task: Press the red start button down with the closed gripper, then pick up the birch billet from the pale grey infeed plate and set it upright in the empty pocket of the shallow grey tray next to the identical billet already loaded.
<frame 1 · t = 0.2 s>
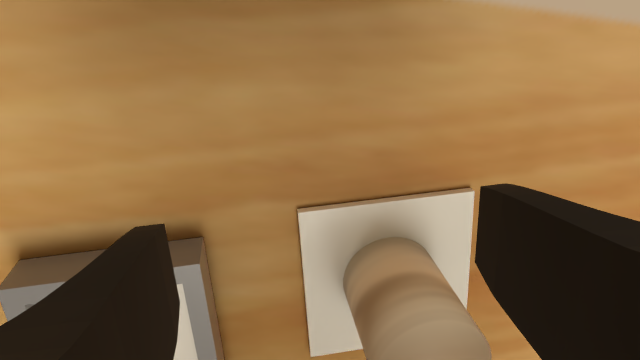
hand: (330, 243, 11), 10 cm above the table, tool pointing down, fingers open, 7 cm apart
billet 2: (388, 277, 24), resting on infeed plate
infeed plate: (386, 273, 24), on the table
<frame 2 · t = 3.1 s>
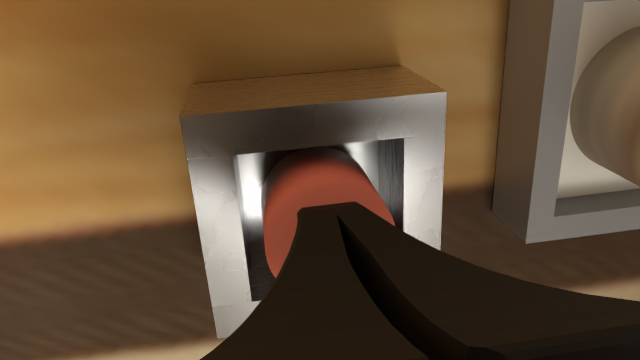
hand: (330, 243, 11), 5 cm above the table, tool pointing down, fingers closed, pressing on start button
button housing: (306, 171, 15), on the table
start button: (323, 220, 12), point 3 cm above the table, slide at -0.2 cm, touching gripper
billet 1: (638, 99, 15), point 1 cm above the table, touching shallow grey tray
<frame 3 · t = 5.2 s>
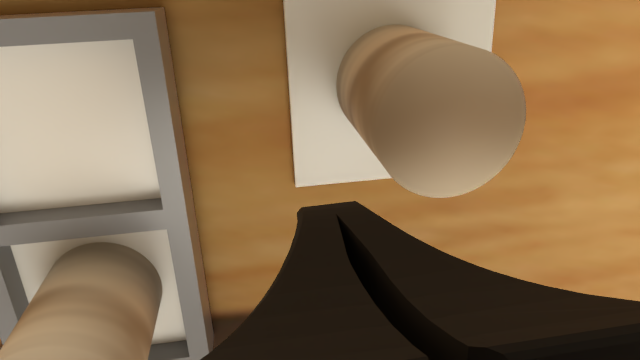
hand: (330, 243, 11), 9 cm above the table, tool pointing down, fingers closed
billet 2: (391, 83, 20), resting on infeed plate
shallow grey tray: (95, 202, 20), on the table
infeed plate: (389, 81, 20), on the table
billet 1: (105, 290, 20), point 1 cm above the table, touching shallow grey tray
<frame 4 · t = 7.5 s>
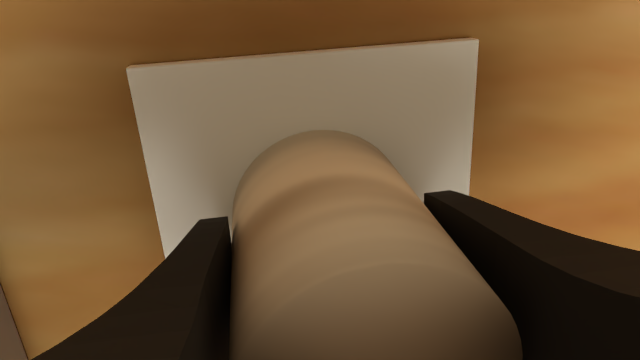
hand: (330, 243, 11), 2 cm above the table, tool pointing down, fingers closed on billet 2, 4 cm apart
billet 2: (319, 212, 13), resting on infeed plate, touching gripper
infeed plate: (317, 205, 13), on the table
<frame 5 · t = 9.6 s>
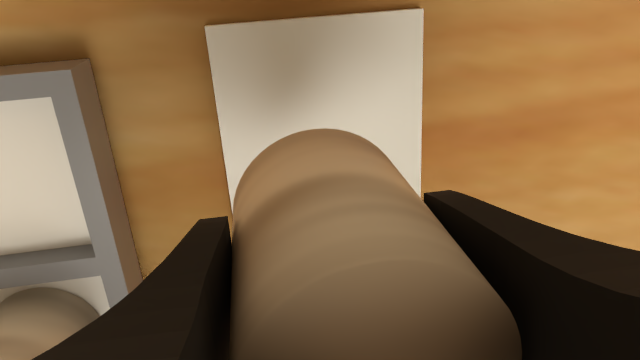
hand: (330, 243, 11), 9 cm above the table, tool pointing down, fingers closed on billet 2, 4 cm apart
billet 2: (319, 211, 13), point 8 cm above the table, touching gripper
shallow grey tray: (35, 247, 20), on the table
infeed plate: (322, 121, 20), on the table
billet 1: (48, 333, 21), point 1 cm above the table, touching shallow grey tray
when the fingers open (4 cm above the table, at t = 11.8 s): billet 2 drops 1 cm, resting on shallow grey tray.
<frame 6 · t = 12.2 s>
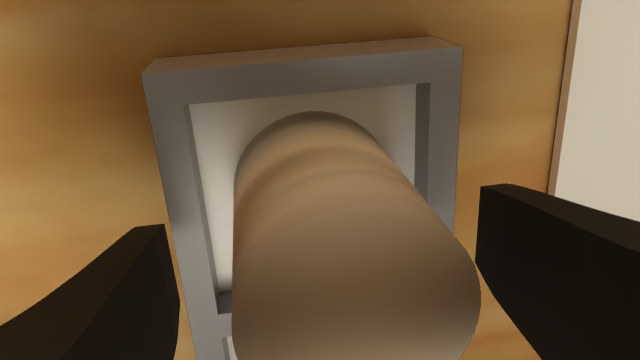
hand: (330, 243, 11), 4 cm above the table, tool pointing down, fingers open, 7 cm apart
billet 2: (312, 186, 14), point 1 cm above the table, touching shallow grey tray
shallow grey tray: (314, 270, 17), on the table
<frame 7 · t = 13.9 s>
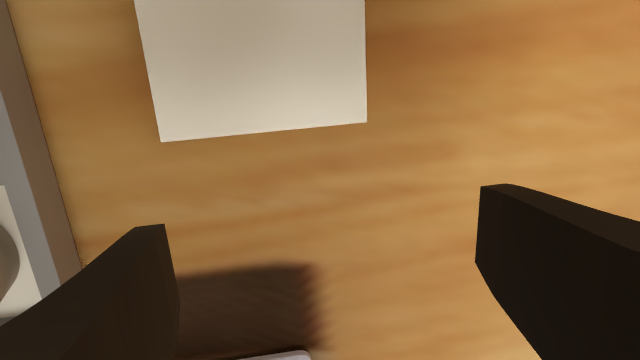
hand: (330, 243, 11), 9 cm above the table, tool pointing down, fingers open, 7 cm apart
infeed plate: (255, 23, 18), on the table
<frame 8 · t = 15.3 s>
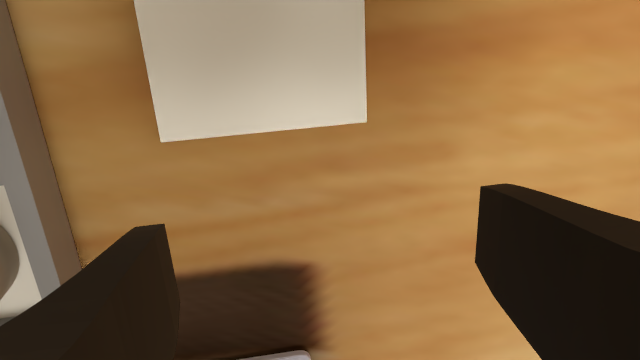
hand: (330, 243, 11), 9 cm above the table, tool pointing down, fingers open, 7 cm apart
infeed plate: (254, 23, 18), on the table
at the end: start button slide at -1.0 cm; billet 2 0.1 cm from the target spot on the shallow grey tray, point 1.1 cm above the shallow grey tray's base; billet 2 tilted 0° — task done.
